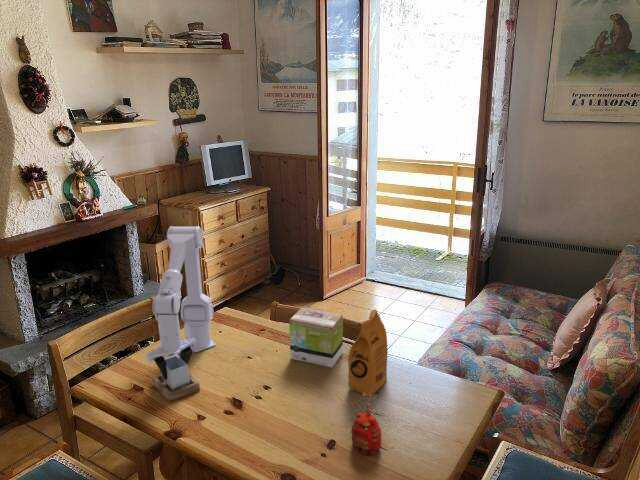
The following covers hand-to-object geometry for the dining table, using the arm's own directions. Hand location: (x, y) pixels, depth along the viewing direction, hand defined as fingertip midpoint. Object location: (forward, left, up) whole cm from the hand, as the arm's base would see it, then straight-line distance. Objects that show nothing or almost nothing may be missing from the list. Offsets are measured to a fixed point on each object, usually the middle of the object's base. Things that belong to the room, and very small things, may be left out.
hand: (174, 374), depth 154 cm
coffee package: (+35, +45, -5) cm, 57 cm away
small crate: (0, 0, -2) cm, 2 cm away
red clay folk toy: (+55, +26, -5) cm, 61 cm away
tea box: (+13, +43, -5) cm, 45 cm away
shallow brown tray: (0, 0, -4) cm, 4 cm away
